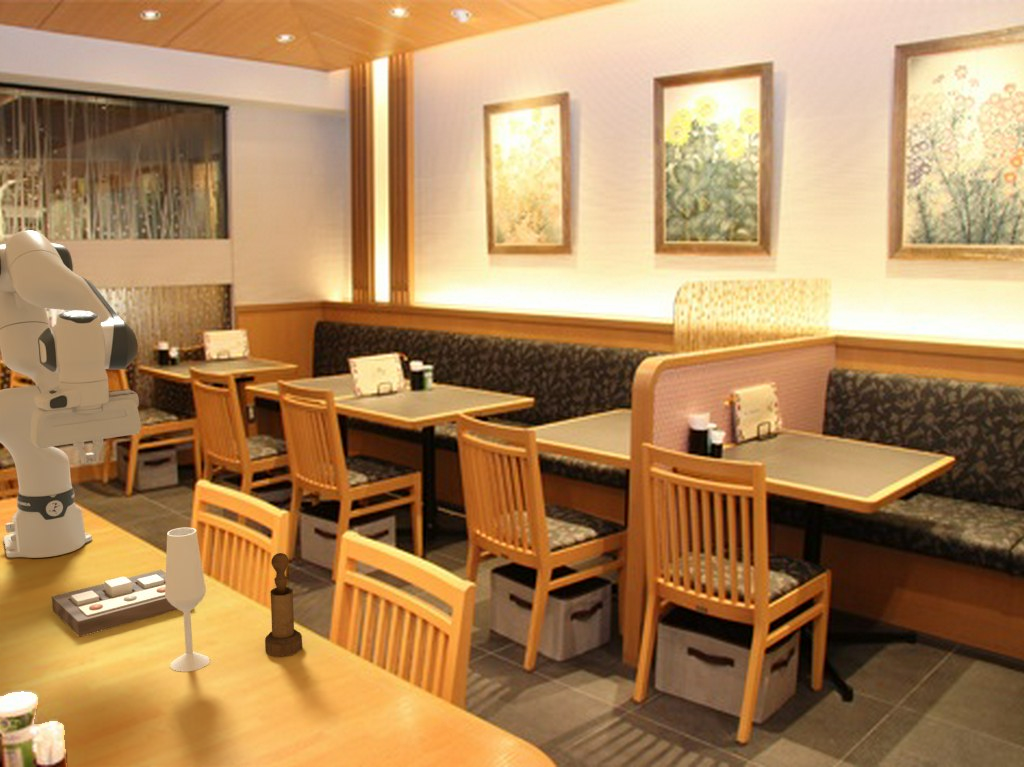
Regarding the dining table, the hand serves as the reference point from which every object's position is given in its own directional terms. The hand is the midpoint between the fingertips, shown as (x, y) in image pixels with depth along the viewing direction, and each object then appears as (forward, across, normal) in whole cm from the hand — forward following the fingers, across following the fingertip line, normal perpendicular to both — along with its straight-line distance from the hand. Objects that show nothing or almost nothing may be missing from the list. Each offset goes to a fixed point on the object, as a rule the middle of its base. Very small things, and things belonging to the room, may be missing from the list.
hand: (89, 462), depth 191 cm
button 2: (+28, -9, +5) cm, 30 cm away
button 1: (+28, +4, +5) cm, 29 cm away
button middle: (+27, -2, +5) cm, 28 cm away
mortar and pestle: (+29, -17, +45) cm, 56 cm away
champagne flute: (+29, -2, +39) cm, 49 cm away
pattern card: (+26, -2, +11) cm, 28 cm away
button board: (+29, -2, +7) cm, 30 cm away
